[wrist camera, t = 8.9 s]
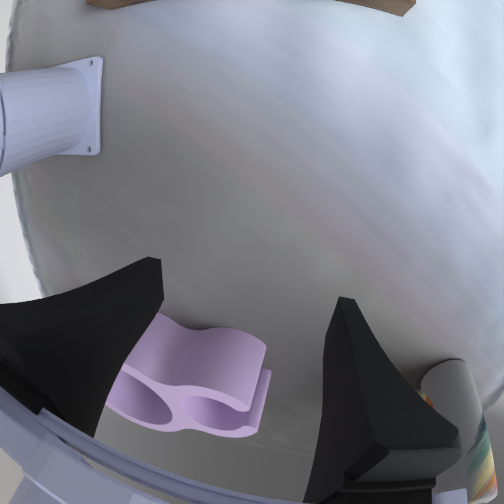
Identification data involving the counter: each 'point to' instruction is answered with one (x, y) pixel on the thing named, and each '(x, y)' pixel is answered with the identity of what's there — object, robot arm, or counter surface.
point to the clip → (193, 380)
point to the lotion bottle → (462, 431)
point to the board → (395, 3)
